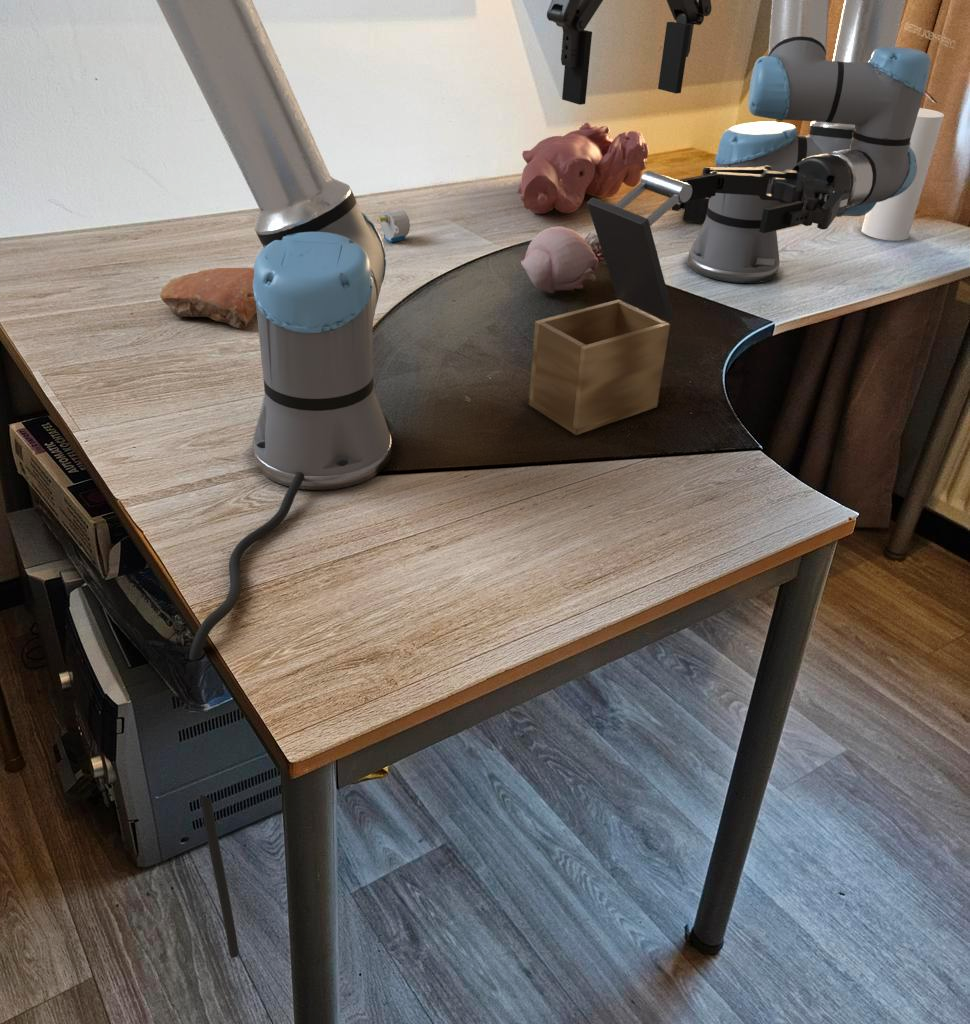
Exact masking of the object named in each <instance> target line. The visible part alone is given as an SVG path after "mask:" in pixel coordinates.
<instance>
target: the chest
mask: <svg viewBox="0 0 970 1024" xmlns="http://www.w3.org/2000/svg"><path fill="white" fill-rule="evenodd" d="M670 328H671V323H669V322H667V321H665V320H663V319H661V318H659V317H657V316H655V315H653V314H651V313H649V312H647V311H644V310H642V309H640V308H638V307H636V306H634V305H632V304H630V303H628V302H626V301H624V300H622V299H620V298H617V299H615V300H611V301H608V302H603V303H600V304H596V305H591V306H588V307H585V308H584V307H583V308H580V309H577V310H572V311H569V312H566V313H561V314H557V315H554V316H550V317H546V318H543V319H539V320H538V319H537V320H535V322H534V333H533V344H532V345H533V346H532V357H531V358H532V359H531V370H530V371H531V372H530V383H529V384H530V385H529V395H528V396H529V398H528V406H530V407H531V408H533V409H535V411H538V412H539V413H540V414H542V415H544V416H545V417H547V418H548V419H550V420H551V421H553V422H555V423H556V424H557V425H559V426H561V427H562V428H564V429H565V430H567V431H569V432H570V433H571V434H573V435H574V436H578V435H581V434H583V433H586V432H590V431H593V430H595V429H598V428H602V427H604V426H607V425H609V424H612V423H615V422H618V421H621V420H625V419H627V418H630V417H633V416H635V415H638V414H641V413H644V412H647V411H650V410H652V409H655V408H658V405H659V396H660V389H661V384H662V378H663V371H664V365H665V359H666V353H667V346H668V340H669V335H670Z"/></svg>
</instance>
